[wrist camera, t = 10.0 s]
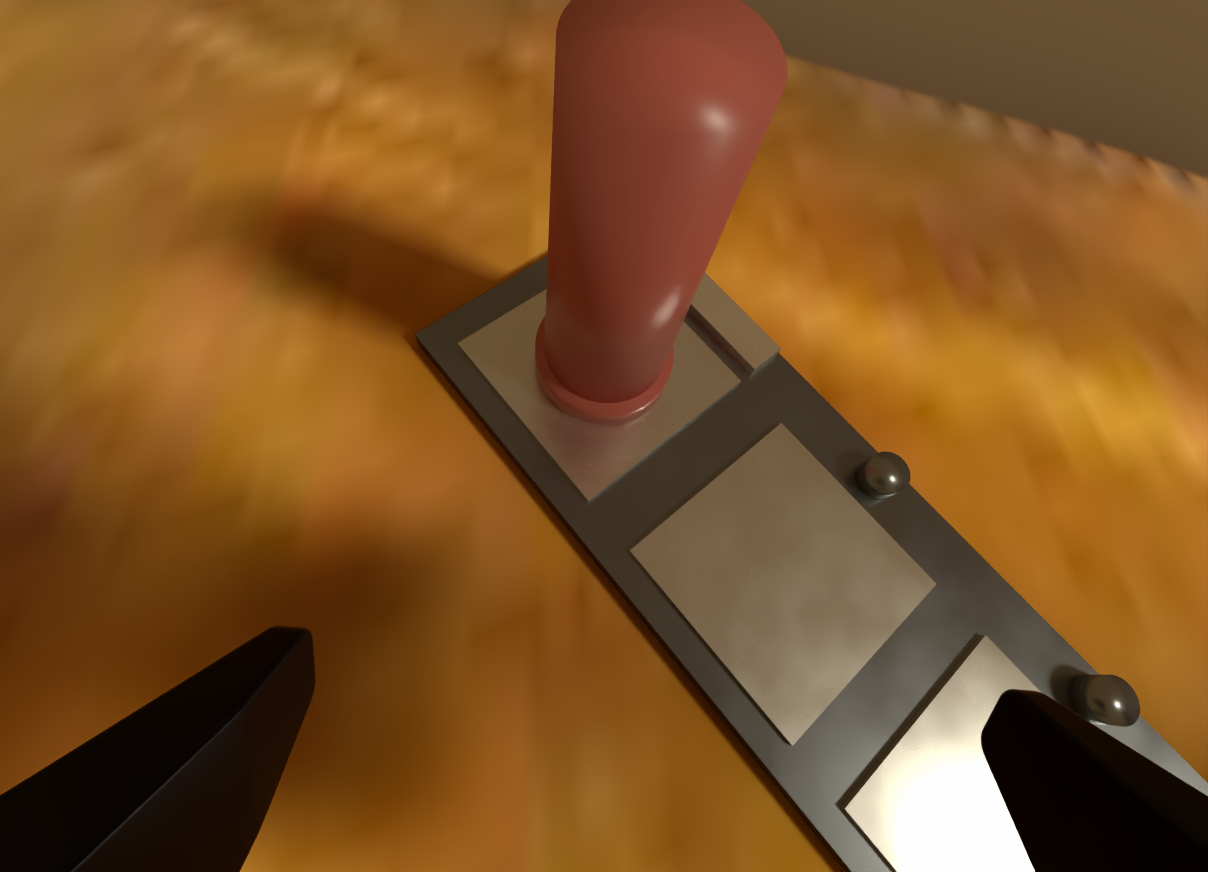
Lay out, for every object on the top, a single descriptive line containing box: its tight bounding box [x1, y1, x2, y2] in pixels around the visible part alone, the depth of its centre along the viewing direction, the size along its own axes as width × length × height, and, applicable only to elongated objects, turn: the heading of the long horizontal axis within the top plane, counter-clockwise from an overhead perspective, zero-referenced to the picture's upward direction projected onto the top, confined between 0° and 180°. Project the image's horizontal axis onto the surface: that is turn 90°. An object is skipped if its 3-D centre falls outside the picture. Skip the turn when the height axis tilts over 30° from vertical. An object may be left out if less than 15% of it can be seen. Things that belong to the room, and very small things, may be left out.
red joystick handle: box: [535, 0, 787, 424], centre depth 15 cm, size 5×5×11 cm
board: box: [415, 256, 1208, 872], centre depth 18 cm, size 10×28×1 cm, turn 40°
